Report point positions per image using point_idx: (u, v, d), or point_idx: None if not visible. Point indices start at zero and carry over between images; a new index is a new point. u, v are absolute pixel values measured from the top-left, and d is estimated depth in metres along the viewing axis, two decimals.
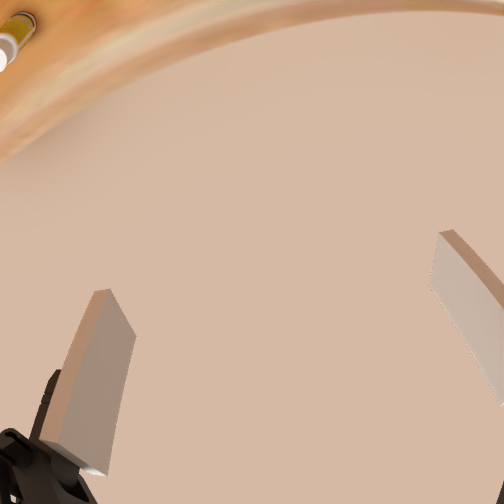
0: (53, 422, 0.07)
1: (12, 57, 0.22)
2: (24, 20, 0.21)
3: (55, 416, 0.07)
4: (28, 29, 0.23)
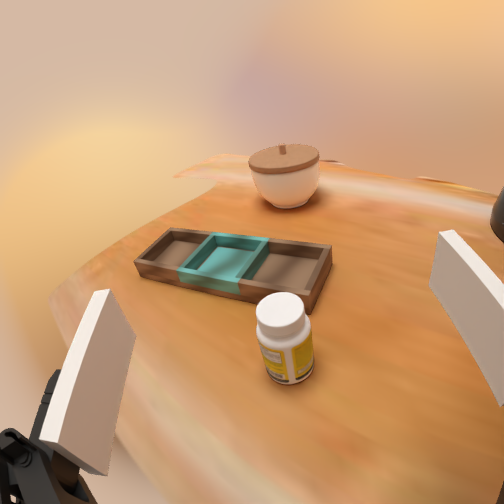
0: (53, 422, 0.07)
1: (274, 341, 0.25)
2: (310, 360, 0.28)
3: (55, 416, 0.07)
4: (299, 368, 0.27)
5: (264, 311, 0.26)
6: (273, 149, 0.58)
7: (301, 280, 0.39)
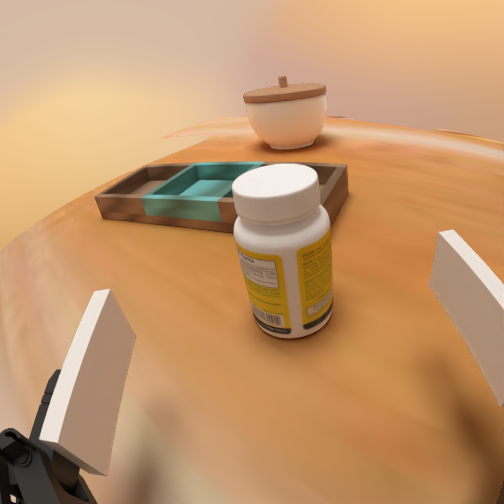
0: (53, 422, 0.07)
1: (264, 236, 0.14)
2: (329, 293, 0.16)
3: (55, 416, 0.07)
4: (310, 303, 0.16)
5: (248, 182, 0.14)
6: None
7: None
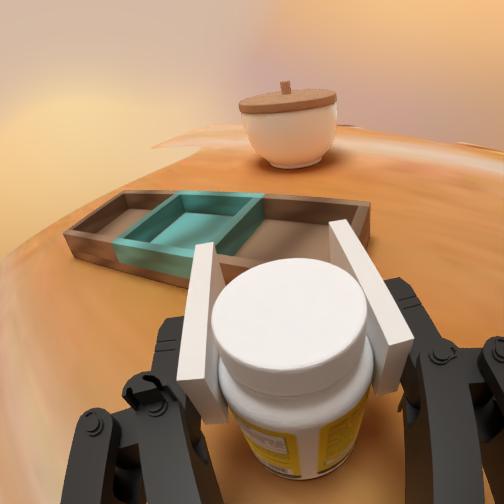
0: (192, 360, 0.08)
1: (267, 408, 0.07)
2: (357, 433, 0.10)
3: (192, 354, 0.08)
4: (331, 457, 0.09)
5: (240, 311, 0.08)
6: (273, 93, 0.40)
7: (321, 259, 0.21)
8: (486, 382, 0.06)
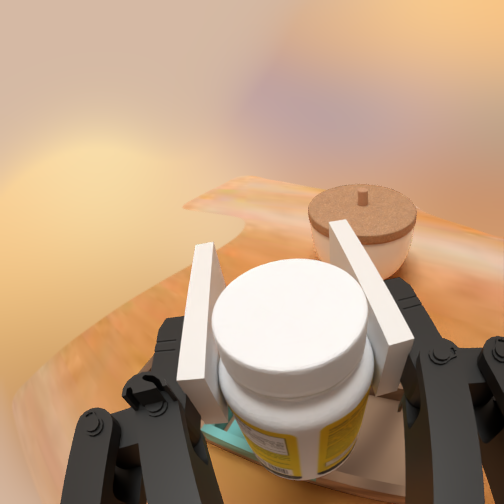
0: (192, 360, 0.08)
1: (268, 409, 0.07)
2: (357, 434, 0.10)
3: (193, 354, 0.08)
4: (331, 458, 0.09)
5: (241, 313, 0.08)
6: (343, 192, 0.37)
7: None
8: (486, 382, 0.06)
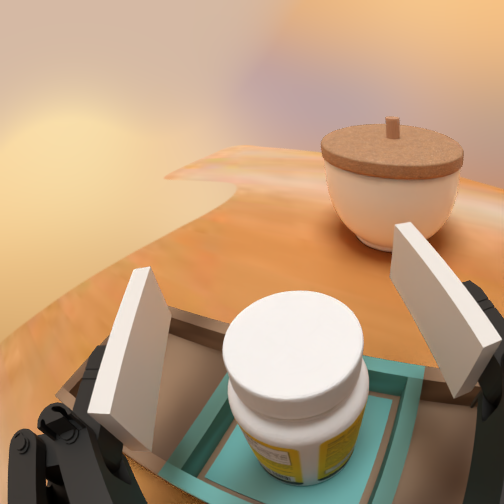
0: (103, 394, 0.07)
1: (273, 428, 0.08)
2: (354, 444, 0.11)
3: (105, 388, 0.08)
4: (330, 466, 0.10)
5: (249, 344, 0.09)
6: (363, 129, 0.27)
7: None
8: None
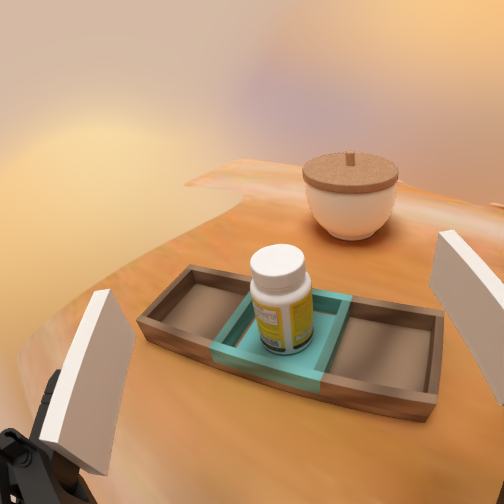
0: (53, 422, 0.07)
1: (270, 296, 0.23)
2: (310, 326, 0.25)
3: (55, 416, 0.07)
4: (298, 333, 0.24)
5: (260, 261, 0.23)
6: (333, 157, 0.41)
7: (407, 367, 0.23)
8: None
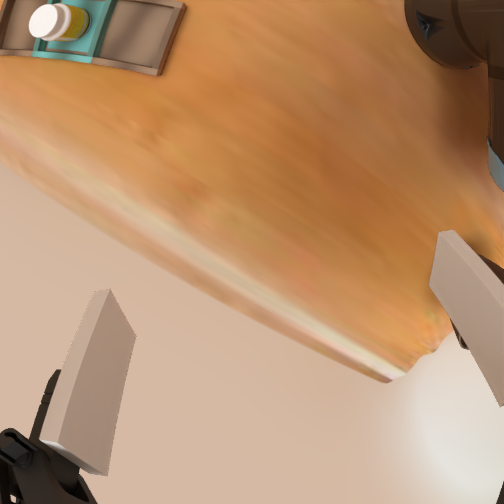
0: (53, 422, 0.07)
1: (46, 38, 0.23)
2: (83, 26, 0.26)
3: (55, 416, 0.07)
4: (75, 35, 0.26)
5: (34, 25, 0.20)
6: None
7: (151, 39, 0.30)
8: None
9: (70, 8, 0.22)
